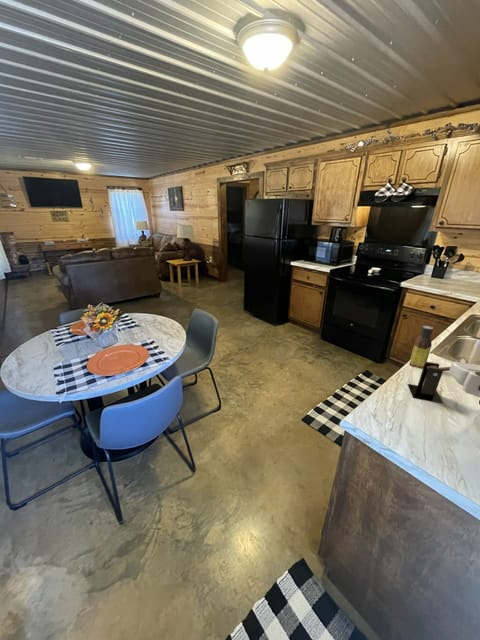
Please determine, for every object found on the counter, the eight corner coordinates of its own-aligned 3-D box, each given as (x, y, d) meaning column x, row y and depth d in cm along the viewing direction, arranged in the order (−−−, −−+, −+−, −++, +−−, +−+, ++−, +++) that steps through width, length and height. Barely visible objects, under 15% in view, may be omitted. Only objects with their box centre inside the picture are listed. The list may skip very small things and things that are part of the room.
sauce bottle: (426, 371, 119) (439, 331, 111) (410, 368, 120) (422, 329, 113) (422, 363, 124) (434, 325, 116) (407, 361, 126) (418, 323, 118)
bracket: (434, 391, 106) (445, 362, 100) (442, 406, 98) (454, 375, 92) (406, 386, 109) (415, 357, 103) (412, 400, 101) (422, 370, 95)
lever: (460, 365, 98) (460, 359, 97) (469, 375, 92) (469, 370, 91) (425, 368, 102) (425, 362, 102) (431, 378, 96) (431, 372, 96)
